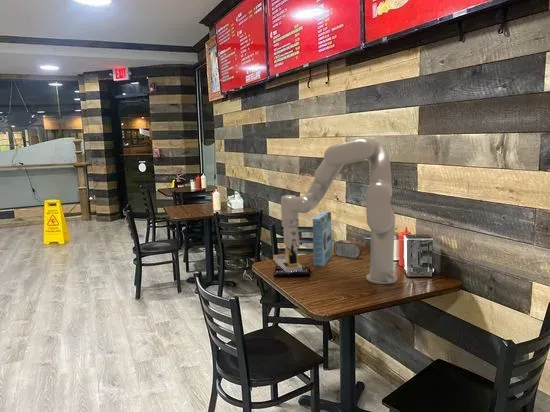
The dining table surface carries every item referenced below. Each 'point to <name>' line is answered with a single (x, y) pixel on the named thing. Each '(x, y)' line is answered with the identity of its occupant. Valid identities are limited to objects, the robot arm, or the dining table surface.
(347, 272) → the dining table surface
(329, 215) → the gum box
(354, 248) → the tin
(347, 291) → the dining table surface
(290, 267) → the grey flat box
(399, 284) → the dining table surface
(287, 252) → the nut block
